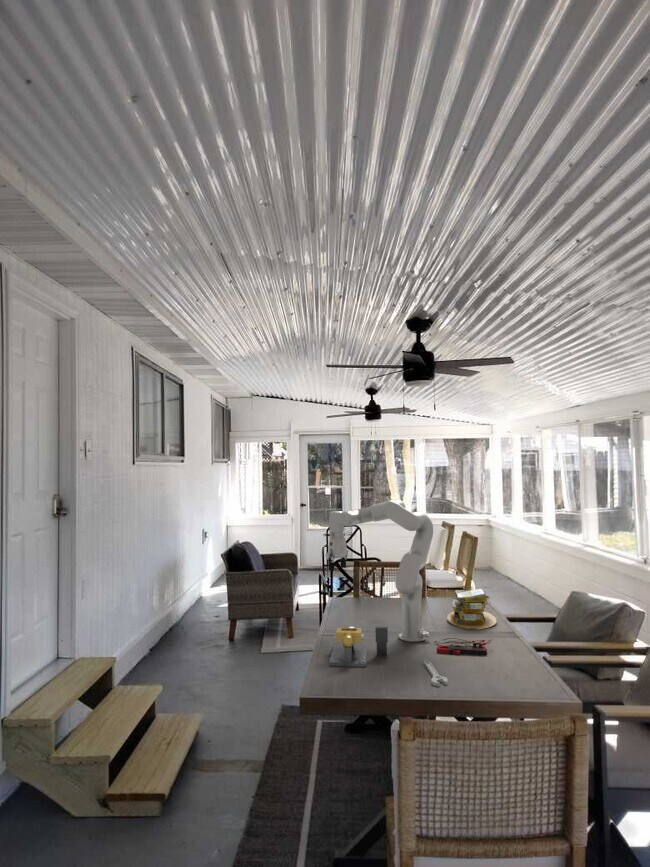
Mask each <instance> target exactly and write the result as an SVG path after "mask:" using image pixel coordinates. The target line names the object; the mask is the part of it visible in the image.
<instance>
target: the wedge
mask: <svg viewBox="0 0 650 867" xmlns="http://www.w3.org/2000/svg"><path fill="white" fill-rule="evenodd" d="M388 634H389V633H388V626H375V643H376V657H381V656H387V657H388V642H389V637H388V636H389V635H388Z"/></svg>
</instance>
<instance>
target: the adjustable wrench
mask: <svg viewBox="0 0 650 867" xmlns="http://www.w3.org/2000/svg"><path fill="white" fill-rule="evenodd" d="M424 664H425V665H424ZM423 665H424V666H425V667H427V668H426V669H427V670H429V671H428V672H429V674H430V673H431V674H430V675H431V676H432V678H431V680H430V681H431V682H430V683H431V685H433V686H435V687H440V686H441V684H443V685H445V686H448V684H449V683H448V682H449V679H448V677H445V676H442V675H440V674H439V673H438V671H437V670H436V668H435V667H434V665H433V663H432V662H431V661H430V660H427V659H426V660H423Z"/></svg>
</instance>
